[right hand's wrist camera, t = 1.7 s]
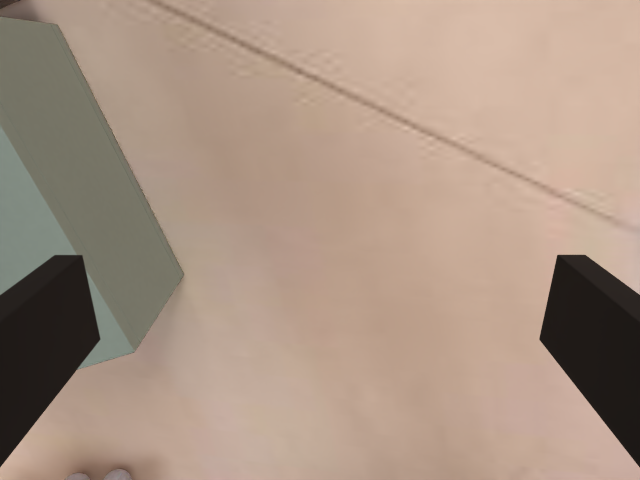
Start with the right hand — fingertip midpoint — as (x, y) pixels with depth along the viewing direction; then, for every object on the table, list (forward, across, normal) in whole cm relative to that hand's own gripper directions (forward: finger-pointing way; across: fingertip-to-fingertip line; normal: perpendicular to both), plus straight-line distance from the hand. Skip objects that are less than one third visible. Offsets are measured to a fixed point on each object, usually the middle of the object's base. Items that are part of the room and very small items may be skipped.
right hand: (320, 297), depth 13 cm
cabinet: (+23, +20, +3) cm, 31 cm away
